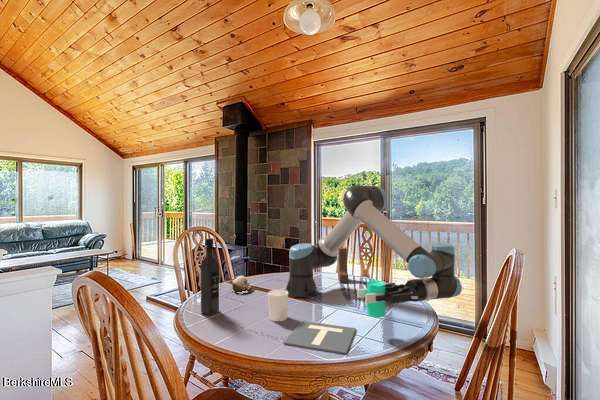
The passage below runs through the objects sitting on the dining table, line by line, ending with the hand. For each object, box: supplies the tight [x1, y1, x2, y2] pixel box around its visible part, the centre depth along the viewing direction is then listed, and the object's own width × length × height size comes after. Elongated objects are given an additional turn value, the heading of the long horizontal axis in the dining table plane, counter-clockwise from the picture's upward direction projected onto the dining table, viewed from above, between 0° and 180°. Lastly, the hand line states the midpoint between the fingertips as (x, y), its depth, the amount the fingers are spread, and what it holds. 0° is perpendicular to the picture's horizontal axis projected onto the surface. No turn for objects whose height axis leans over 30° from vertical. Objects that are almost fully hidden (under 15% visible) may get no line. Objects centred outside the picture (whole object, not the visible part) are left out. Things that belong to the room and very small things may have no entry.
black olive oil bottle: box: [200, 238, 220, 315], centre depth 125 cm, size 6×6×30 cm
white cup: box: [267, 289, 289, 323], centre depth 119 cm, size 8×8×10 cm
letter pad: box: [283, 320, 357, 355], centre depth 103 cm, size 20×18×1 cm
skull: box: [231, 275, 255, 293], centre depth 155 cm, size 12×10×10 cm
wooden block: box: [337, 246, 349, 284], centre depth 172 cm, size 9×4×18 cm, turn 179°
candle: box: [366, 279, 386, 318], centre depth 103 cm, size 6×6×12 cm
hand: (361, 296), depth 102 cm, fingers closed on candle, 5 cm apart
